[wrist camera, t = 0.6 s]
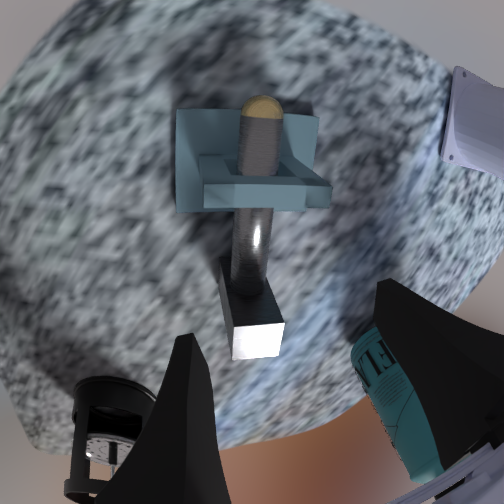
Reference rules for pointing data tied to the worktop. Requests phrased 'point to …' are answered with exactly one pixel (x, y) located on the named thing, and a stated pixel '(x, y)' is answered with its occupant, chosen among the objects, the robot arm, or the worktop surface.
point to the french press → (103, 430)
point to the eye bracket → (225, 165)
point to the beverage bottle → (398, 408)
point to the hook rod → (253, 241)
